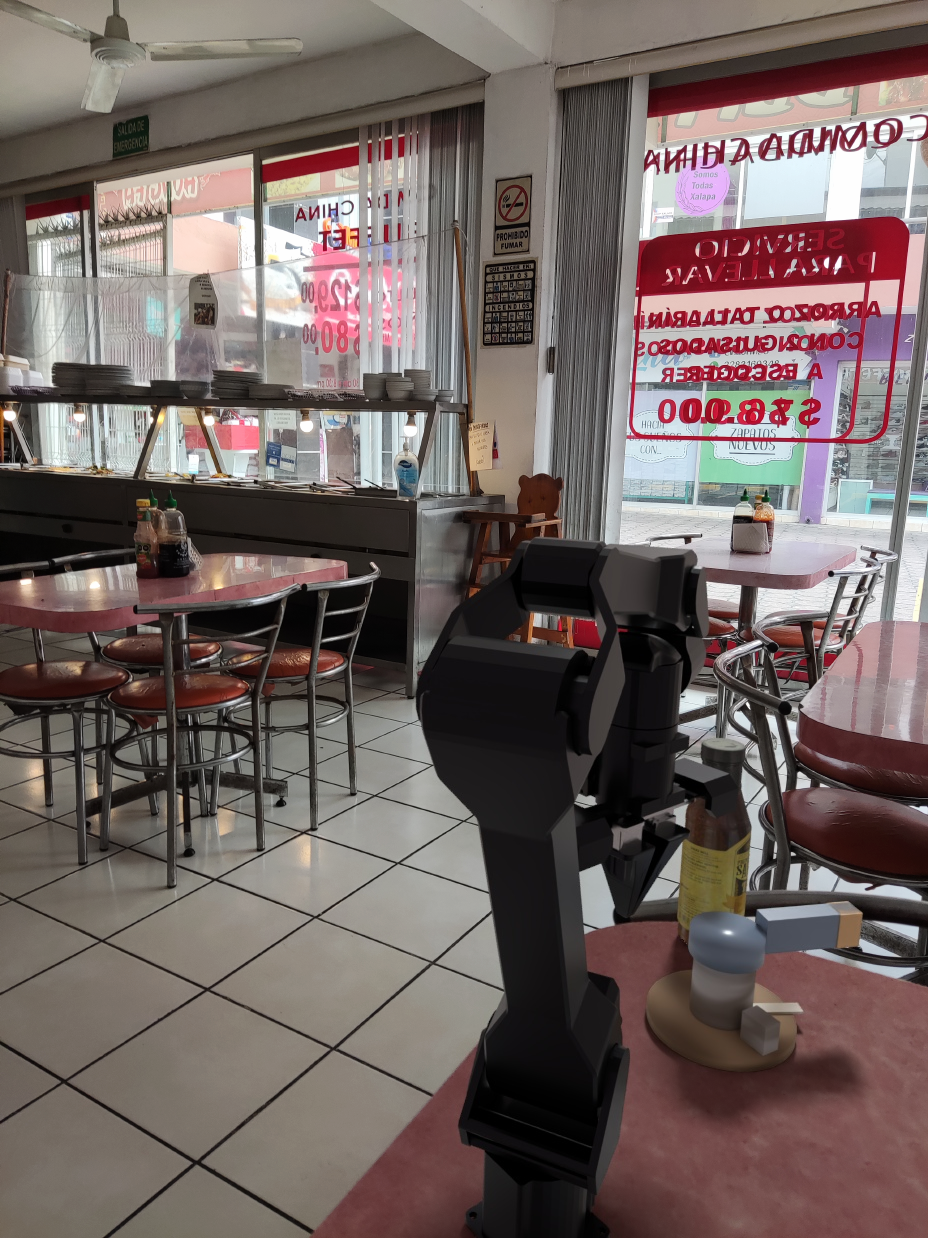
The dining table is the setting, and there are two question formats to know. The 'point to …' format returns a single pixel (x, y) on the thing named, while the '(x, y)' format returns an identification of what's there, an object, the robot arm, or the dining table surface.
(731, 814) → the sauce bottle
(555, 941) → the robot arm
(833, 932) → the orange-banded blue bar
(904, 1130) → the dining table surface
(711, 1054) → the tan disc with post
